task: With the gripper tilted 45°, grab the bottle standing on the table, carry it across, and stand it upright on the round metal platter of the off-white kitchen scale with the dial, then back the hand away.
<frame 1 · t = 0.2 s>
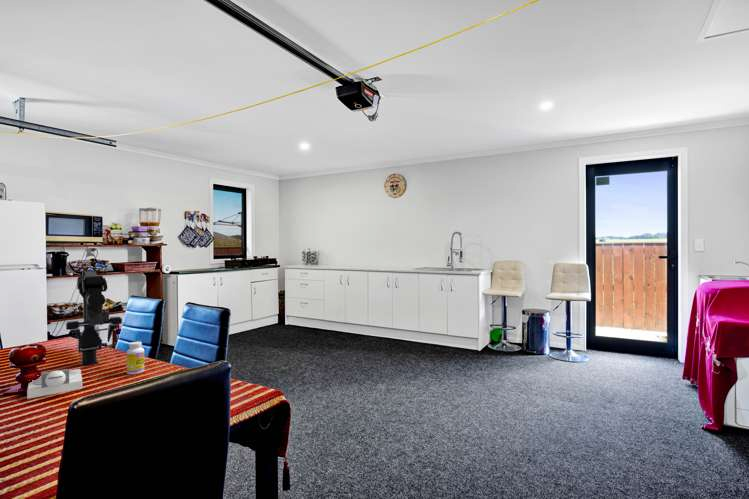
hand: (95, 343, 166), 14 cm above the table, tool pointing down, fingers open, 9 cm apart
kitchen scale: (56, 386, 157), on the table
supplement bottle: (135, 372, 173), on the table
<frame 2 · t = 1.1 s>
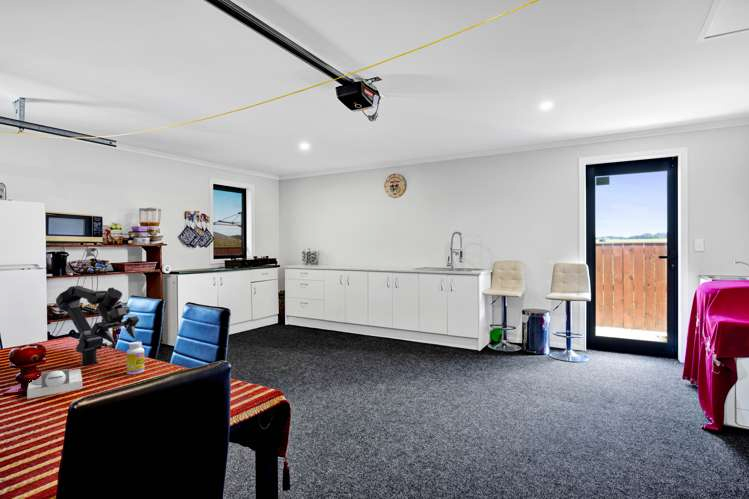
hand: (124, 339, 176), 13 cm above the table, tool tilted 45°, fingers open, 9 cm apart
nothing on the table moved.
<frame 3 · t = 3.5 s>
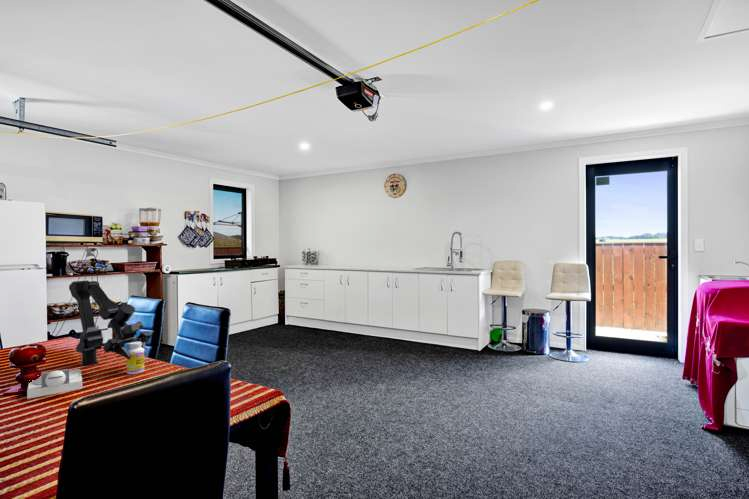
hand: (137, 356, 173), 7 cm above the table, tool tilted 45°, fingers closed on supplement bottle, 7 cm apart
supplement bottle: (135, 372, 173), on the table, touching gripper
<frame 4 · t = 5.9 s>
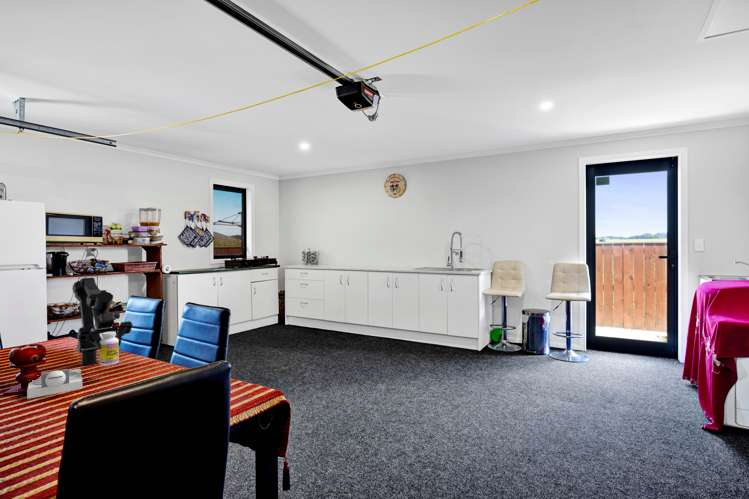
hand: (110, 347, 164), 13 cm above the table, tool tilted 45°, fingers closed on supplement bottle, 7 cm apart
supplement bottle: (109, 364, 165), point 6 cm above the table, touching gripper
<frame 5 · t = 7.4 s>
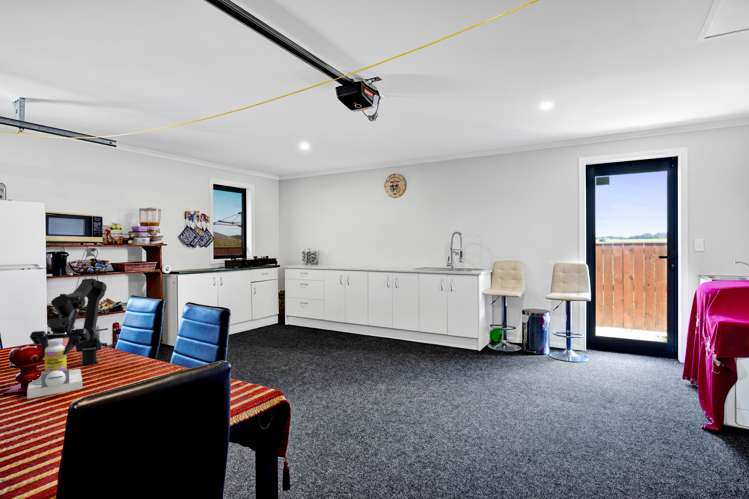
hand: (54, 355, 156), 13 cm above the table, tool tilted 45°, fingers closed on supplement bottle, 7 cm apart
supplement bottle: (56, 372, 157), point 5 cm above the table, touching gripper
when the fingers open (12 cm above the table, at t = 8.4 s): supplement bottle stays where it is, resting on kitchen scale.
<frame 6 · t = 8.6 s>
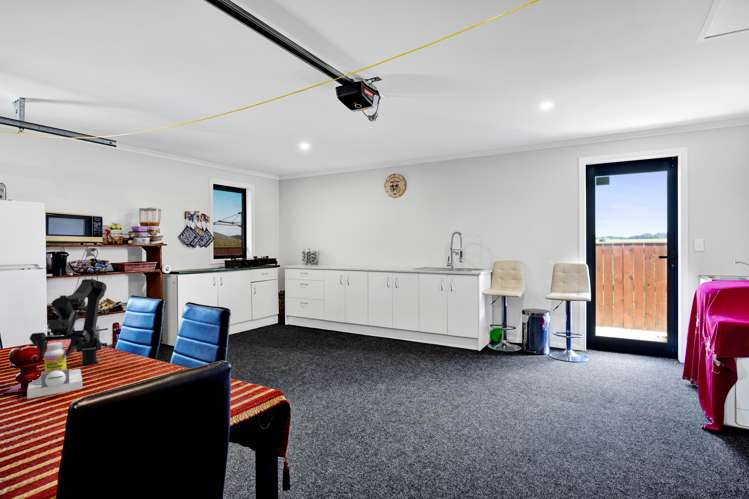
hand: (53, 356, 155), 12 cm above the table, tool tilted 45°, fingers open, 8 cm apart
supplement bottle: (56, 376, 157), point 4 cm above the table, touching kitchen scale
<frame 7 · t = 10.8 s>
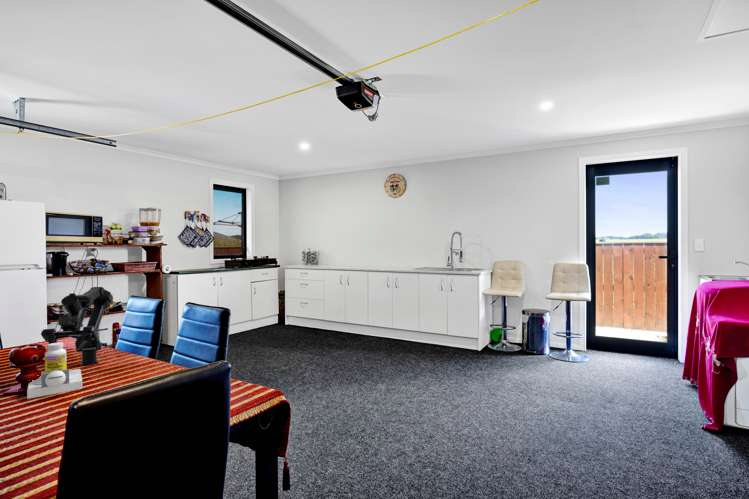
hand: (63, 351, 164), 12 cm above the table, tool tilted 45°, fingers open, 9 cm apart
nothing on the table moved.
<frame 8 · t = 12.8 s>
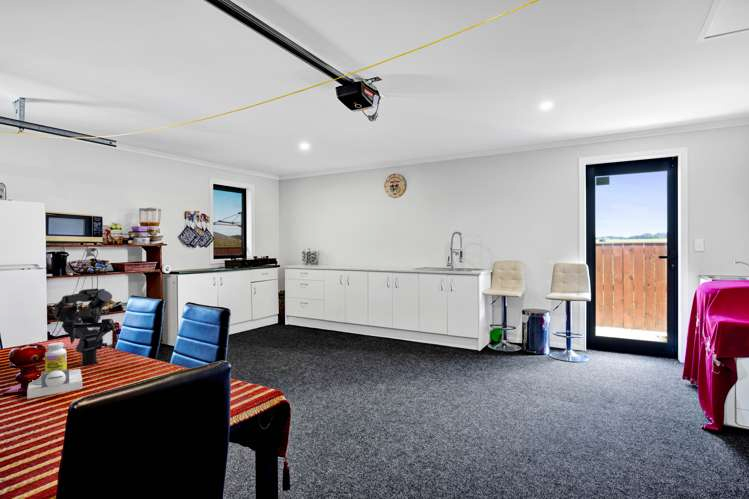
hand: (83, 342, 173), 14 cm above the table, tool tilted 45°, fingers open, 9 cm apart
nothing on the table moved.
at the end: supplement bottle 0.1 cm from the target spot, point 3.6 cm above the table; supplement bottle tilted 0°; the gripper is holding nothing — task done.
